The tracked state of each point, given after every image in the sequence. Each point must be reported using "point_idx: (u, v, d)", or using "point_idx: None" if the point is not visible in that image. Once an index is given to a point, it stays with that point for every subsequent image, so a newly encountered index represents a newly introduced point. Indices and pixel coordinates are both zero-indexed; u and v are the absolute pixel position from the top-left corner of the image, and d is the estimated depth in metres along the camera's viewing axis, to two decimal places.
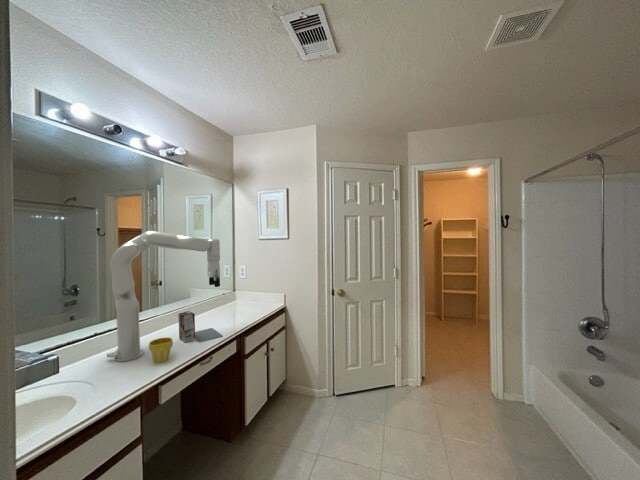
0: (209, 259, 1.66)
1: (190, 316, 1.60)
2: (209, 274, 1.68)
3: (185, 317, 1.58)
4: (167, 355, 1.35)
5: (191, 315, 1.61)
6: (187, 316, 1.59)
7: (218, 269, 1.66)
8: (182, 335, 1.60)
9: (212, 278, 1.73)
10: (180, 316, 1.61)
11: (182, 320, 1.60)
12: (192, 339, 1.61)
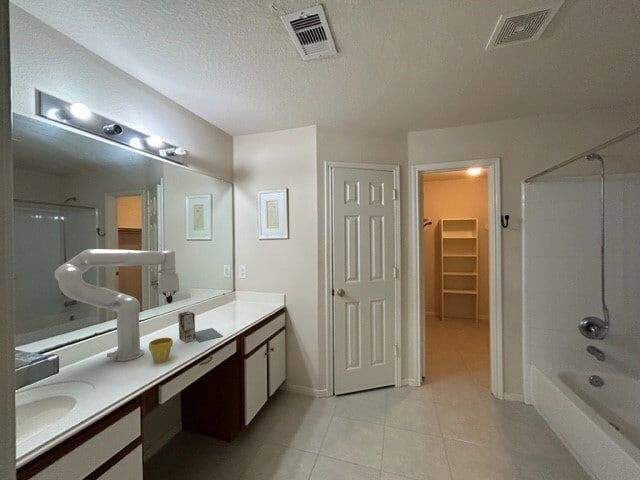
0: (173, 272, 1.56)
1: (190, 316, 1.60)
2: (169, 289, 1.55)
3: (185, 317, 1.58)
4: (167, 355, 1.35)
5: (191, 315, 1.61)
6: (187, 316, 1.59)
7: None
8: (182, 335, 1.60)
9: (168, 296, 1.57)
10: (180, 316, 1.61)
11: (182, 320, 1.60)
12: (192, 339, 1.61)
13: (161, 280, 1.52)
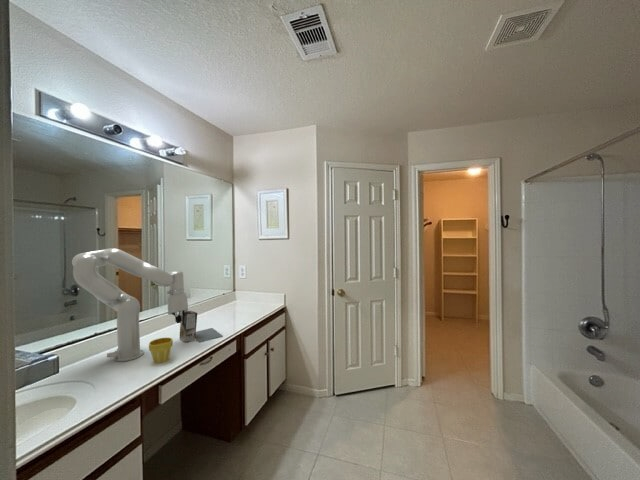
0: (181, 292, 1.58)
1: (193, 315, 1.62)
2: (178, 309, 1.58)
3: (188, 316, 1.59)
4: (167, 355, 1.35)
5: (194, 314, 1.62)
6: (190, 315, 1.60)
7: None
8: (182, 333, 1.61)
9: None
10: (183, 314, 1.62)
11: (184, 318, 1.61)
12: (192, 339, 1.61)
13: (170, 301, 1.55)
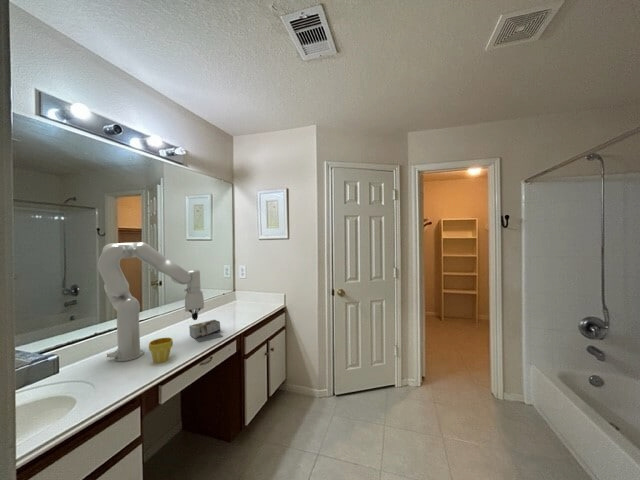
0: (198, 290, 1.64)
1: (218, 327, 1.73)
2: (195, 306, 1.64)
3: (218, 323, 1.73)
4: (167, 355, 1.35)
5: (219, 328, 1.74)
6: (219, 325, 1.74)
7: None
8: (198, 325, 1.68)
9: None
10: (214, 320, 1.77)
11: (213, 322, 1.74)
12: (196, 335, 1.63)
13: (188, 298, 1.61)
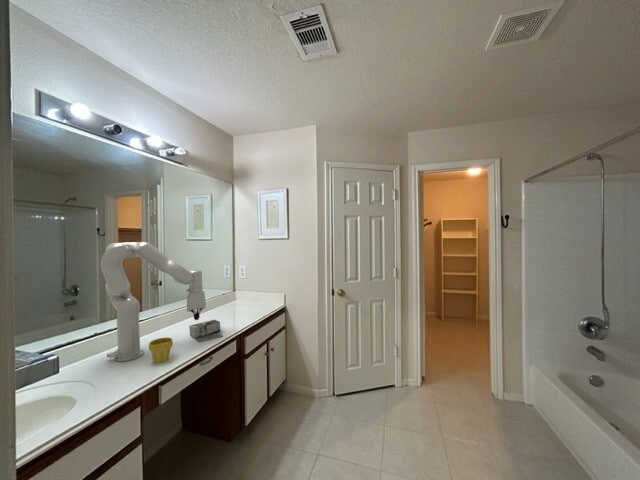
0: (200, 290, 1.65)
1: (218, 328, 1.73)
2: (197, 306, 1.64)
3: (218, 323, 1.73)
4: (167, 355, 1.35)
5: (219, 328, 1.74)
6: (219, 325, 1.73)
7: None
8: (198, 325, 1.68)
9: (195, 313, 1.67)
10: (214, 320, 1.77)
11: (213, 322, 1.74)
12: (196, 335, 1.63)
13: (190, 298, 1.62)
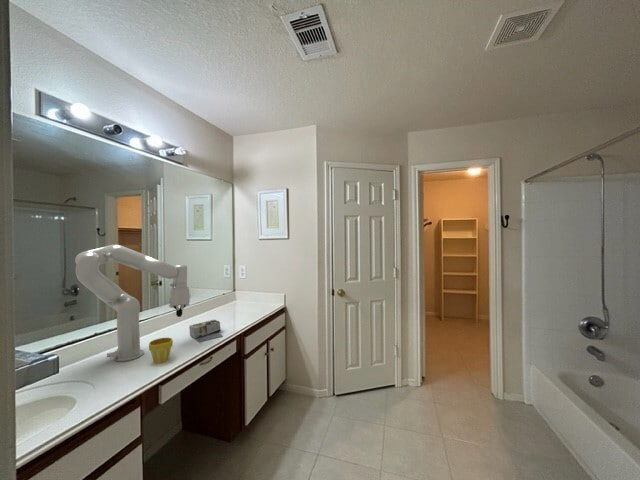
0: (184, 286, 1.59)
1: (218, 328, 1.73)
2: (180, 302, 1.58)
3: (218, 323, 1.73)
4: (167, 355, 1.35)
5: (219, 328, 1.74)
6: (219, 325, 1.73)
7: None
8: (198, 325, 1.68)
9: None
10: (214, 320, 1.77)
11: (213, 322, 1.74)
12: (196, 335, 1.63)
13: (173, 294, 1.56)
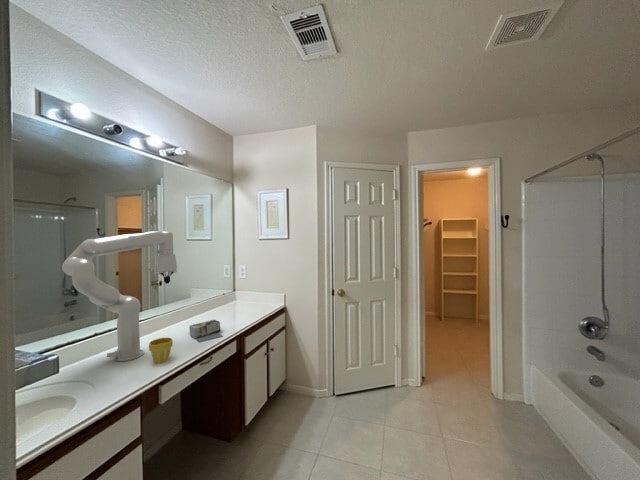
0: (170, 252, 1.58)
1: (218, 328, 1.73)
2: (167, 269, 1.58)
3: (218, 323, 1.73)
4: (167, 355, 1.35)
5: (219, 328, 1.74)
6: (219, 325, 1.73)
7: None
8: (198, 325, 1.68)
9: (166, 276, 1.60)
10: (214, 320, 1.77)
11: (213, 322, 1.74)
12: (196, 335, 1.63)
13: (159, 260, 1.55)
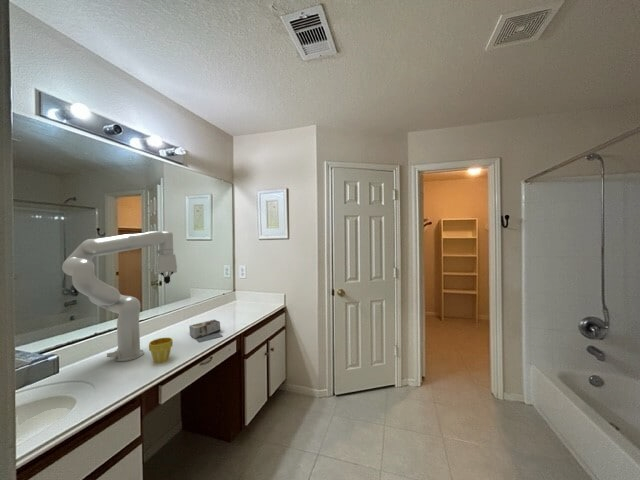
0: (170, 252, 1.58)
1: (218, 328, 1.73)
2: (167, 269, 1.58)
3: (218, 323, 1.73)
4: (167, 355, 1.35)
5: (219, 328, 1.74)
6: (219, 325, 1.73)
7: None
8: (198, 325, 1.68)
9: (166, 276, 1.60)
10: (214, 320, 1.77)
11: (213, 322, 1.74)
12: (196, 335, 1.63)
13: (159, 260, 1.55)
